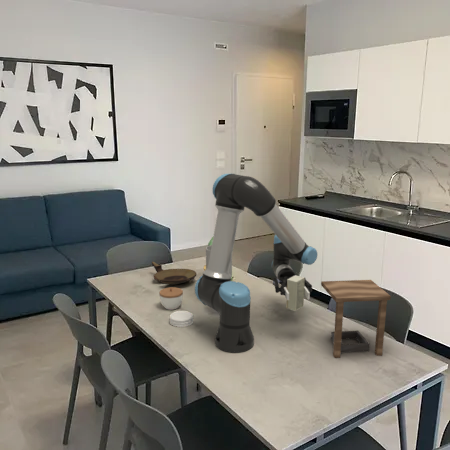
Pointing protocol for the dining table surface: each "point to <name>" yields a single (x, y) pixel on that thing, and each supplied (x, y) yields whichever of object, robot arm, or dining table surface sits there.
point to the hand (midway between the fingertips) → (298, 296)
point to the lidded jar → (171, 297)
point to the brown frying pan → (173, 275)
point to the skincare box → (295, 292)
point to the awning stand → (352, 293)
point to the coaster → (181, 318)
